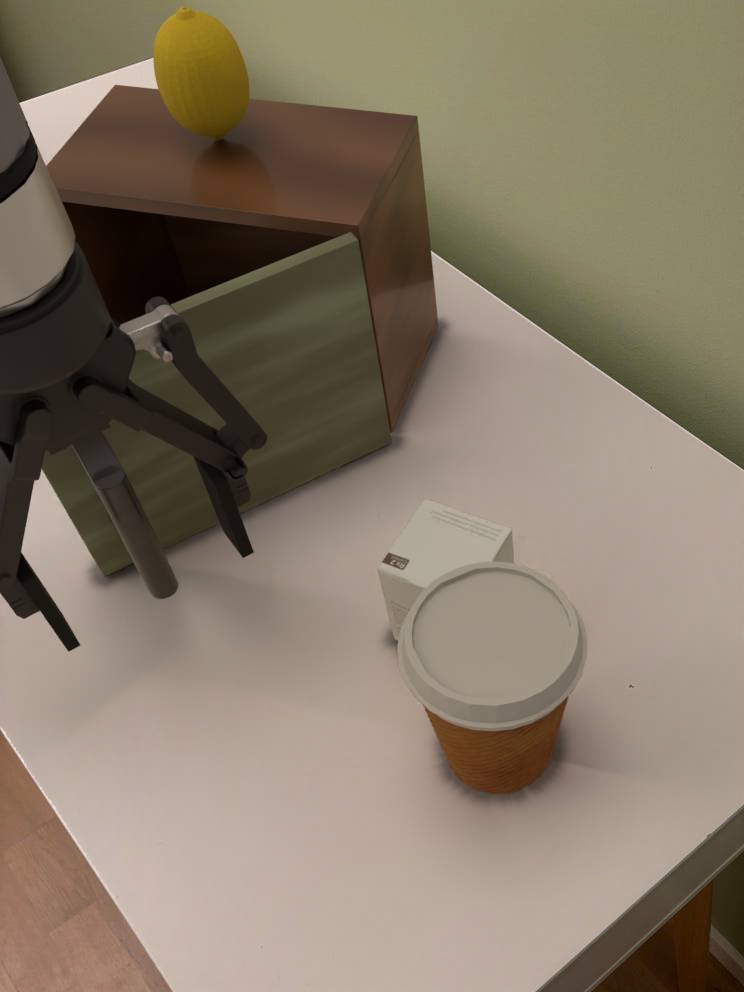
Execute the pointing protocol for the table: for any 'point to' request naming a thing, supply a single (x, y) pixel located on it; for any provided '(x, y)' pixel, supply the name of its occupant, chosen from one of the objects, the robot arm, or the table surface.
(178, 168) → the cupboard
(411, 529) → the white cardboard box
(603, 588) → the table surface
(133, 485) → the cupboard door
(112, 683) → the table surface
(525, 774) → the disposable coffee cup
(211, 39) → the lemon
